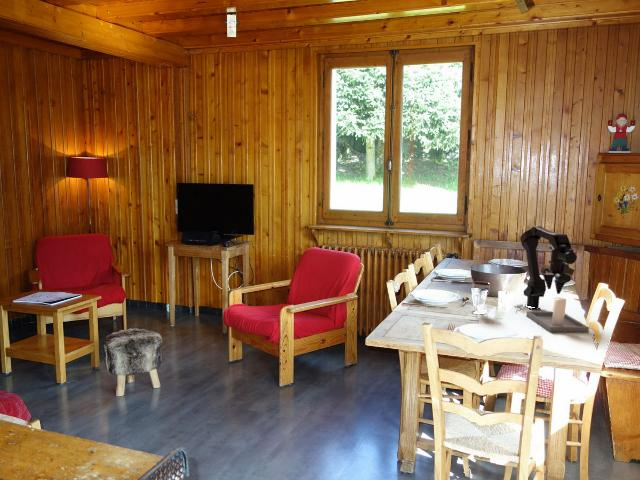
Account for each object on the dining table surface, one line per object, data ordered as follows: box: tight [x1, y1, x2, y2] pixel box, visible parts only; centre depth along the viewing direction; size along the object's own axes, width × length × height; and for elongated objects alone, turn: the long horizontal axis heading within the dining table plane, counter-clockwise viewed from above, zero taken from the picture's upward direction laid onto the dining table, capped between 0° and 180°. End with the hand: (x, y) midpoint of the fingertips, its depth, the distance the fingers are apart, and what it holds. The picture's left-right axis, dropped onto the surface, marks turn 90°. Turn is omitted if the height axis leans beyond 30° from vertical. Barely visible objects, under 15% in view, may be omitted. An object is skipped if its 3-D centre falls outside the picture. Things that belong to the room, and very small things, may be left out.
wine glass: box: [471, 280, 491, 316], centre depth 280 cm, size 8×8×15 cm
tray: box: [525, 310, 590, 334], centre depth 267 cm, size 24×18×2 cm
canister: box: [551, 297, 567, 326], centre depth 260 cm, size 5×5×13 cm
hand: (553, 291), depth 276 cm, fingers open, 9 cm apart
